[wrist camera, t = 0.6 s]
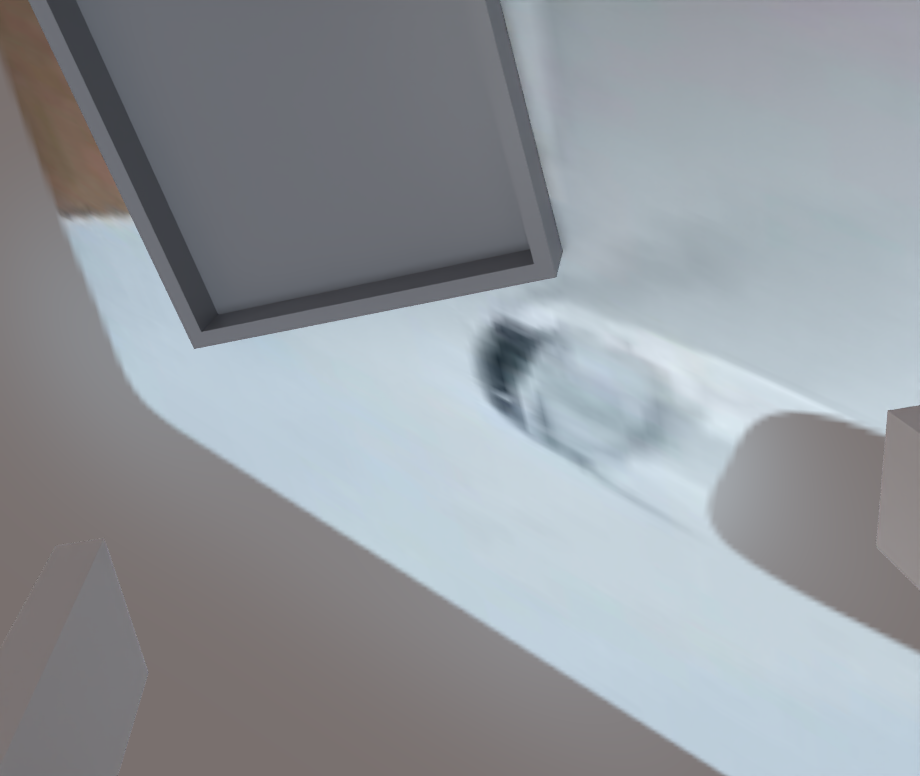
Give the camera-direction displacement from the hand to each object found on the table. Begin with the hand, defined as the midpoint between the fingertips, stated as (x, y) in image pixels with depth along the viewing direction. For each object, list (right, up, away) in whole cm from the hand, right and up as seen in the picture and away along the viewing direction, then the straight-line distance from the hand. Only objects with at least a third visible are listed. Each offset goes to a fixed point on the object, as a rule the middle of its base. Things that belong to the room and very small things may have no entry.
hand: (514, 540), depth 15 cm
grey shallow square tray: (-8, +15, +25) cm, 30 cm away
